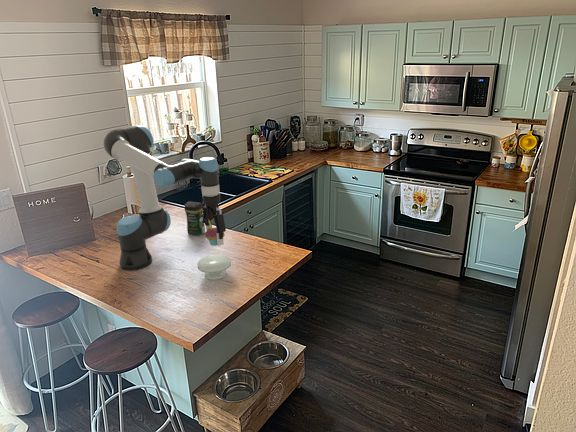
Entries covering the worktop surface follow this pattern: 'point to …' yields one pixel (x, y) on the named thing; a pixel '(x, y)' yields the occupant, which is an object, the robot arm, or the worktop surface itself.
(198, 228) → the coffee jar
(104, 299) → the worktop surface
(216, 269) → the cake stand
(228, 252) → the worktop surface
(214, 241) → the cupcake
